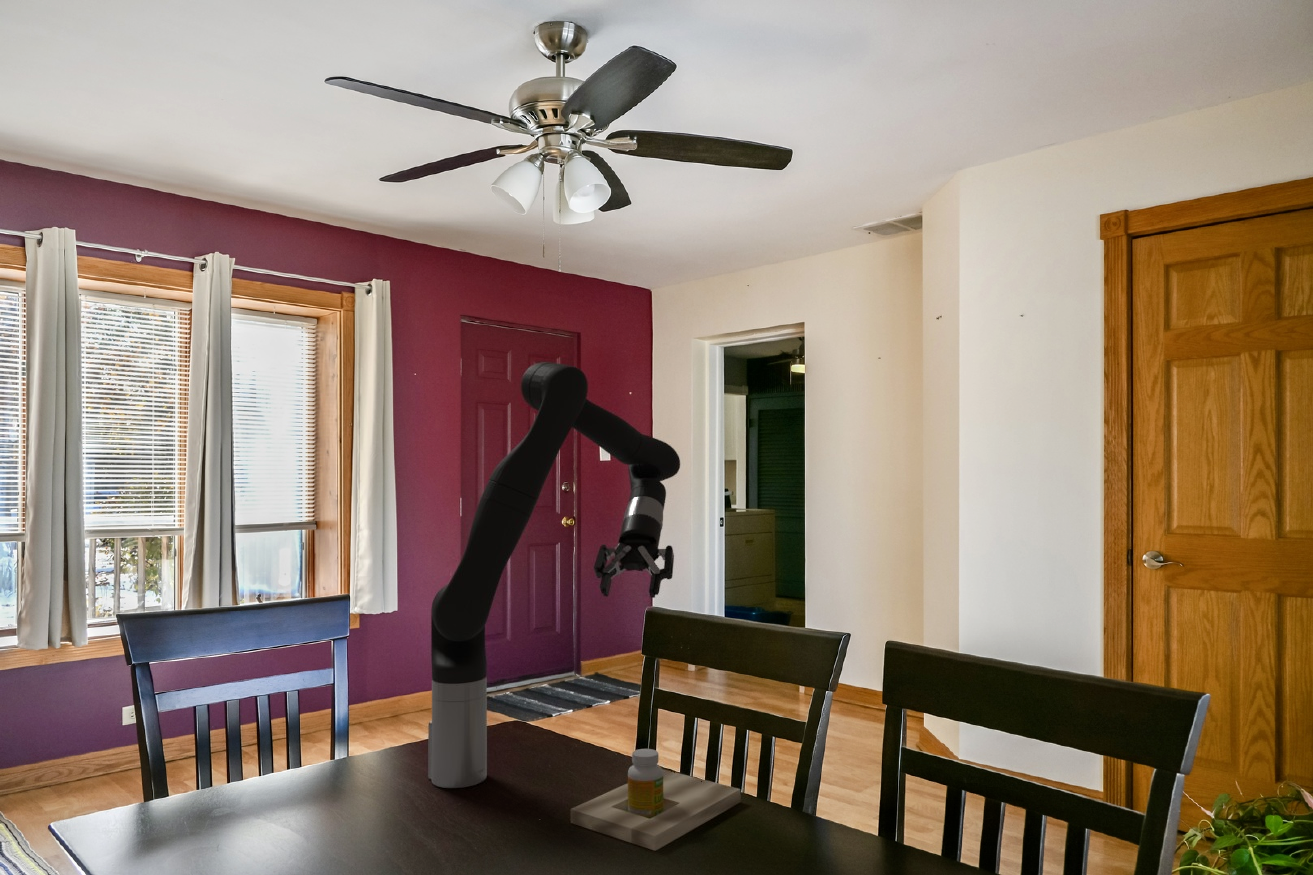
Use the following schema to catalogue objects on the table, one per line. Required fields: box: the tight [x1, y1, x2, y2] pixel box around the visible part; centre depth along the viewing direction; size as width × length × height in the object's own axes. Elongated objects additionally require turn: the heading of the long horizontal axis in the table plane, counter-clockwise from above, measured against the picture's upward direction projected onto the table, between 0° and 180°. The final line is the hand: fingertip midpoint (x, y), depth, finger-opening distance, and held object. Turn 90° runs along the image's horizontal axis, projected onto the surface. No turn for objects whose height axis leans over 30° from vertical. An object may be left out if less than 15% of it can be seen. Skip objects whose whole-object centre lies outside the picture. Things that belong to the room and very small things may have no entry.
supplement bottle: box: [627, 748, 664, 819], centre depth 129 cm, size 5×5×10 cm
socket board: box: [570, 768, 742, 851], centre depth 131 cm, size 16×22×2 cm
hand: (628, 594), depth 152 cm, fingers open, 8 cm apart
